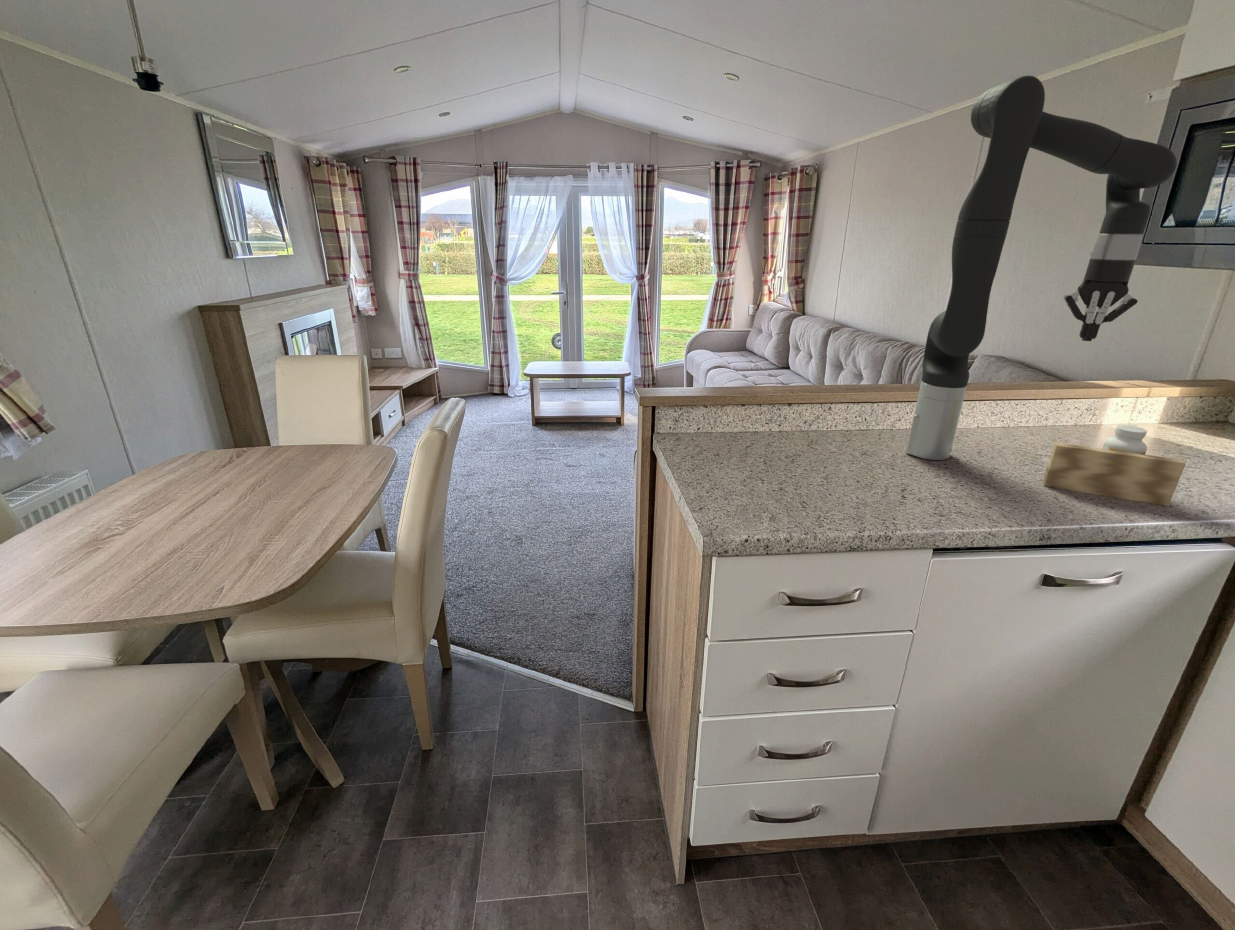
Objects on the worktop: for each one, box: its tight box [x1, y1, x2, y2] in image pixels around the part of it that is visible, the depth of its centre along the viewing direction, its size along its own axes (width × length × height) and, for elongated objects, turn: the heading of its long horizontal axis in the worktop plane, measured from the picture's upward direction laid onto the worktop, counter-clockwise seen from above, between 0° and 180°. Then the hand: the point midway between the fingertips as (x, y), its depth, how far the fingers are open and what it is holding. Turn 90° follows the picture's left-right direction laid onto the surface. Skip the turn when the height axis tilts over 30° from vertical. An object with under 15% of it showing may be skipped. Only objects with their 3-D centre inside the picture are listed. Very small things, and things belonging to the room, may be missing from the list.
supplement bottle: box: [1102, 424, 1148, 455], centre depth 117 cm, size 7×7×13 cm
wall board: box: [1042, 442, 1187, 507], centre depth 116 cm, size 20×6×9 cm, turn 62°
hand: (1086, 340), depth 126 cm, fingers closed
